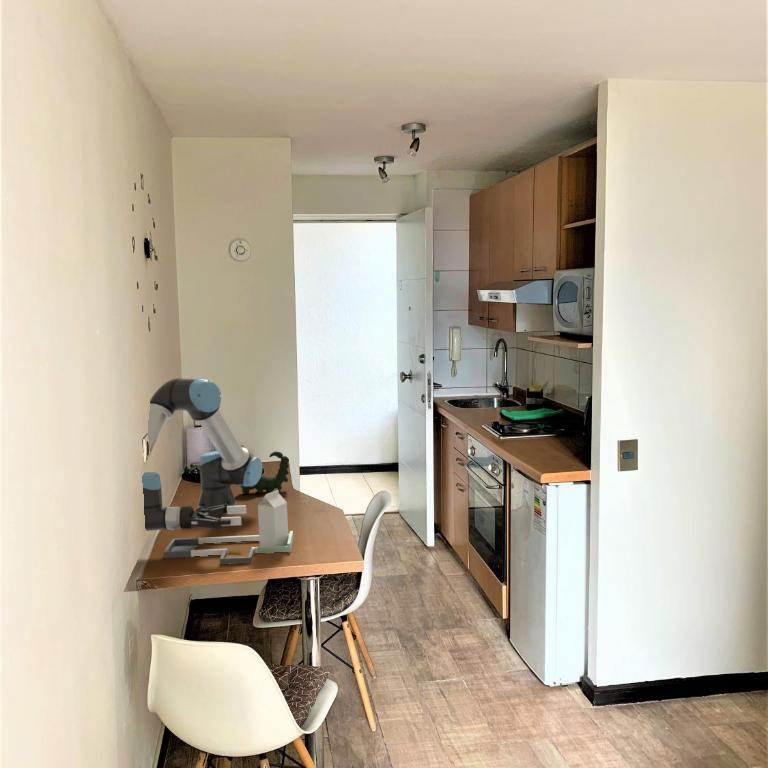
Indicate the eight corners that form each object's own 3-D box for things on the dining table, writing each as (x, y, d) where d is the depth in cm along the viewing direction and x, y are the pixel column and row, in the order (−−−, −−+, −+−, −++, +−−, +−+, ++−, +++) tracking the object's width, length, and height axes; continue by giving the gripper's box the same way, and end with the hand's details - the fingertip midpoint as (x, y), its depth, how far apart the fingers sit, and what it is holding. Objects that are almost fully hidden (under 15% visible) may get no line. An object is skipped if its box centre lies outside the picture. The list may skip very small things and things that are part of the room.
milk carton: (288, 544, 266) (286, 491, 264) (276, 550, 260) (273, 496, 257) (272, 541, 269) (270, 488, 267) (259, 547, 263) (256, 493, 261)
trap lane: (173, 544, 270) (172, 536, 269) (293, 539, 272) (292, 530, 271) (157, 567, 247) (156, 558, 246) (288, 561, 249) (288, 552, 249)
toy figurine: (286, 491, 344) (229, 491, 338) (288, 449, 342) (231, 448, 336) (288, 496, 335) (230, 496, 329) (290, 453, 333) (231, 453, 327)
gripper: (188, 517, 274) (248, 515, 275) (173, 540, 250) (239, 537, 251) (187, 497, 273) (247, 494, 275) (172, 517, 249) (238, 514, 250)
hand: (243, 514), depth 263 cm, fingers open, 13 cm apart
